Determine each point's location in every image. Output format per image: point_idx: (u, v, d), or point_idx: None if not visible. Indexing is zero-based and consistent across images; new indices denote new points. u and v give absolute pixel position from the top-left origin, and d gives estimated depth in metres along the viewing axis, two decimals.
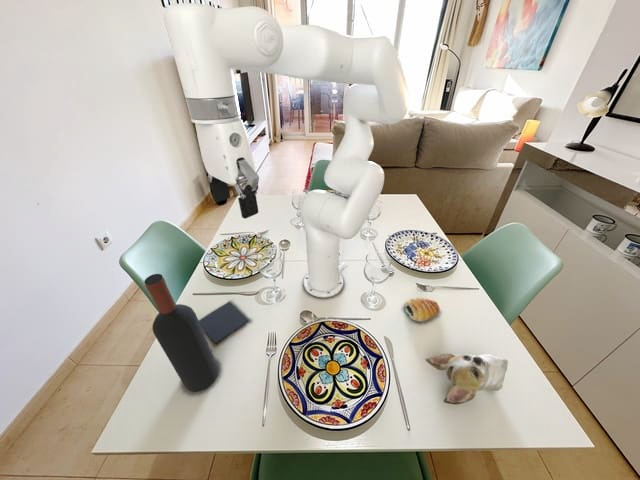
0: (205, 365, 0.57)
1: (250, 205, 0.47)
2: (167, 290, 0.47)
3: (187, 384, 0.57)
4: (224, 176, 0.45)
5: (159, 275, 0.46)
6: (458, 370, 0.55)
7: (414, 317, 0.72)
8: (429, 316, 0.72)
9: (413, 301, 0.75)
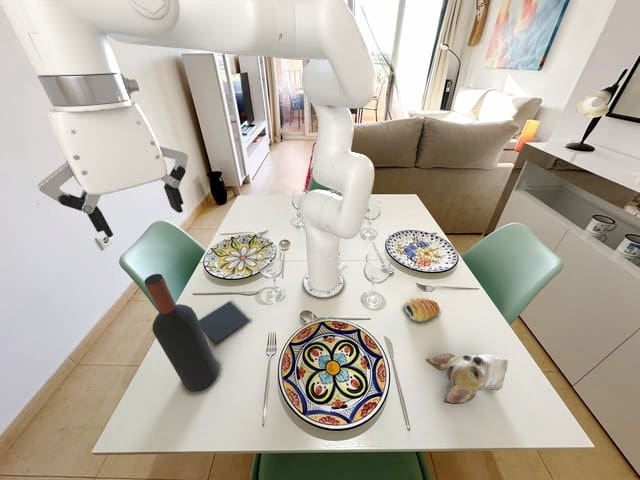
0: (205, 365, 0.57)
1: None
2: (167, 290, 0.47)
3: (187, 384, 0.57)
4: (149, 172, 0.37)
5: (159, 275, 0.46)
6: (458, 370, 0.55)
7: (414, 317, 0.72)
8: (429, 316, 0.72)
9: (413, 301, 0.75)
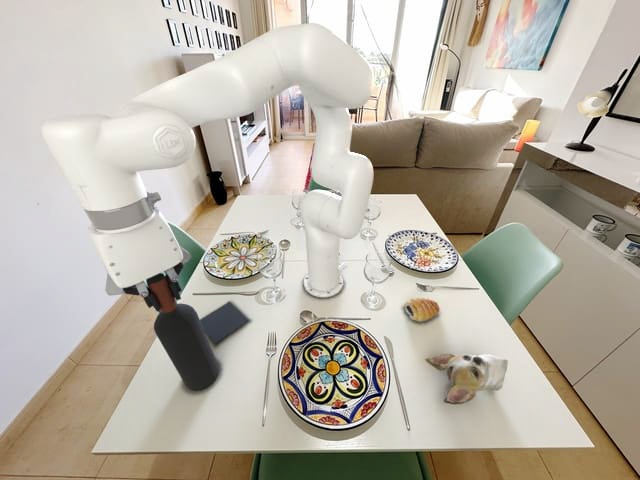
0: (206, 364, 0.57)
1: None
2: (169, 289, 0.47)
3: (188, 383, 0.57)
4: (169, 262, 0.44)
5: (161, 274, 0.46)
6: (458, 370, 0.55)
7: (414, 317, 0.72)
8: (429, 316, 0.72)
9: (413, 301, 0.75)
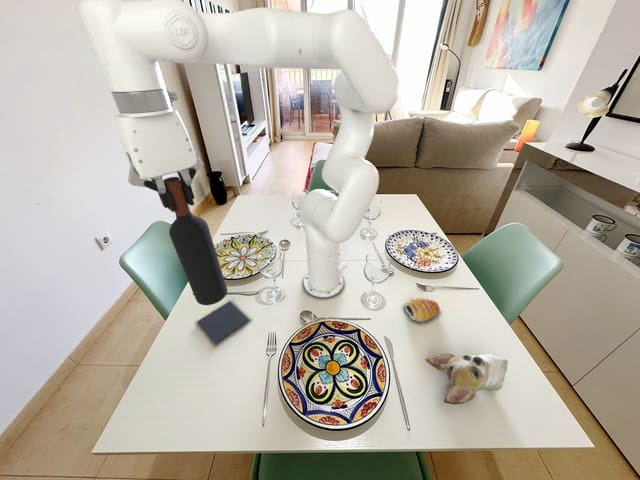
0: (216, 277, 0.62)
1: None
2: (183, 193, 0.52)
3: (199, 296, 0.62)
4: (184, 161, 0.48)
5: (176, 177, 0.51)
6: (458, 370, 0.55)
7: (414, 317, 0.72)
8: (429, 316, 0.72)
9: (413, 301, 0.75)
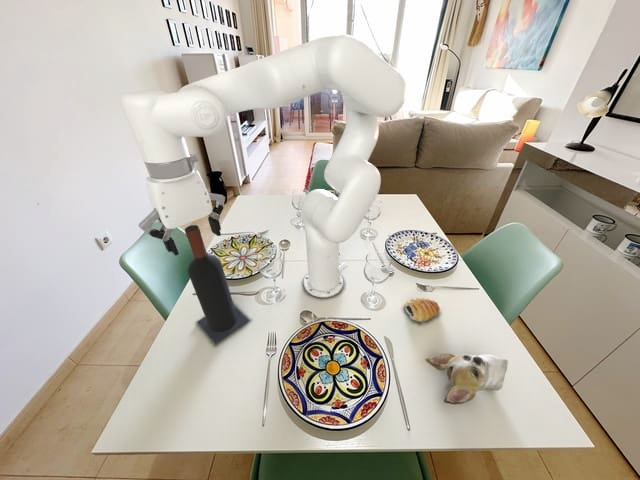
0: (228, 307, 0.69)
1: None
2: (201, 238, 0.59)
3: (213, 324, 0.70)
4: (202, 211, 0.55)
5: (195, 226, 0.58)
6: (458, 370, 0.55)
7: (414, 317, 0.72)
8: (429, 316, 0.72)
9: (413, 301, 0.75)
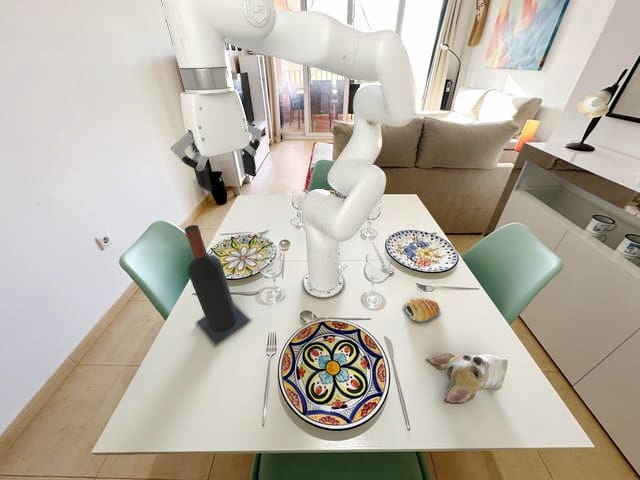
0: (228, 307, 0.69)
1: None
2: (201, 238, 0.59)
3: (213, 324, 0.70)
4: (240, 141, 0.49)
5: (195, 226, 0.58)
6: (458, 370, 0.55)
7: (414, 317, 0.72)
8: (429, 316, 0.72)
9: (413, 301, 0.75)
